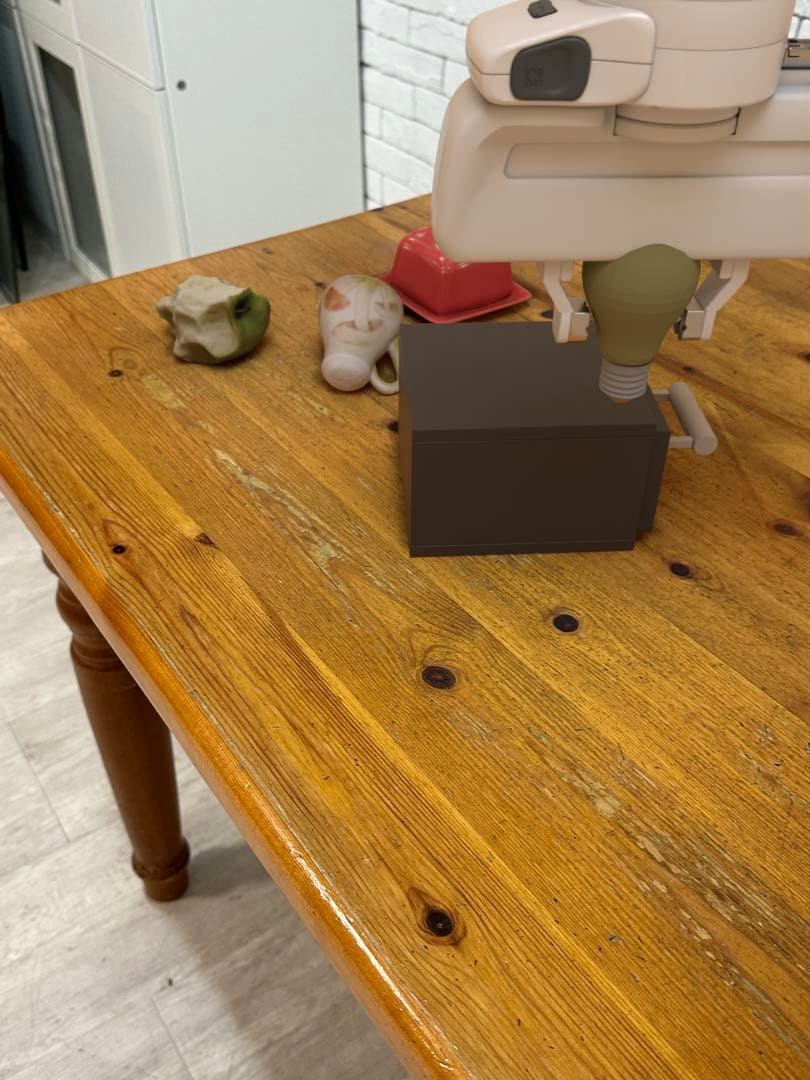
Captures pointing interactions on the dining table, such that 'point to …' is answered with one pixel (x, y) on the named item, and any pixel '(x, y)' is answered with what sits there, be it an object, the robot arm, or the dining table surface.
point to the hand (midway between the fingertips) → (628, 336)
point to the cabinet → (515, 443)
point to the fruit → (214, 319)
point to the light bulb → (636, 311)
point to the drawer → (672, 441)
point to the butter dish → (449, 282)
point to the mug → (359, 331)
